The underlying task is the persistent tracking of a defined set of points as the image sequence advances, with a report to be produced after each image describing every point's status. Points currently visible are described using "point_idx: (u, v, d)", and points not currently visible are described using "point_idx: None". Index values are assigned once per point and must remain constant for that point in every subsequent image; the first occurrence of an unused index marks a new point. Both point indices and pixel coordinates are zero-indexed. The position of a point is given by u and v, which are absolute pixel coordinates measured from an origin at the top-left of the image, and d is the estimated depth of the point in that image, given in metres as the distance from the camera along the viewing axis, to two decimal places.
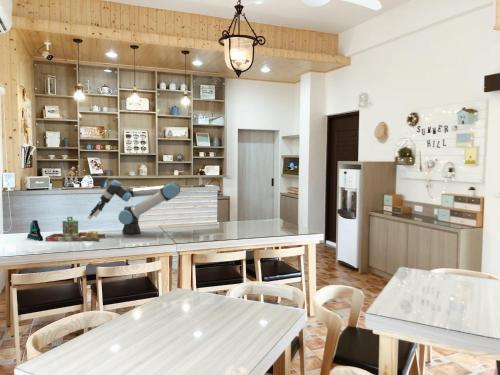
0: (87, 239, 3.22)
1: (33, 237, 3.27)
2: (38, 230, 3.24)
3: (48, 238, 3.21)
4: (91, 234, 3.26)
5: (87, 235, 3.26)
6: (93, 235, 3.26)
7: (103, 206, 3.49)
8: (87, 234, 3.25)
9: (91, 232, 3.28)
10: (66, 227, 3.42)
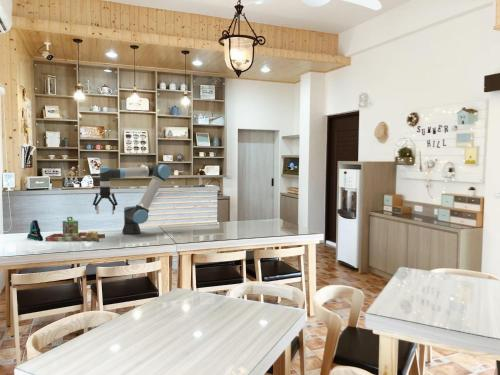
0: (87, 239, 3.22)
1: (33, 237, 3.27)
2: (38, 230, 3.24)
3: (48, 238, 3.21)
4: (91, 234, 3.26)
5: (87, 235, 3.26)
6: (93, 235, 3.26)
7: (96, 199, 3.28)
8: (87, 234, 3.25)
9: (91, 232, 3.28)
10: (66, 227, 3.42)
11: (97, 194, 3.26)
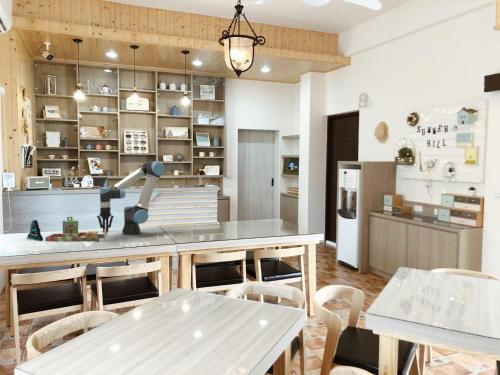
0: (87, 239, 3.22)
1: (33, 237, 3.27)
2: (38, 230, 3.24)
3: (48, 238, 3.21)
4: (91, 234, 3.26)
5: (87, 235, 3.26)
6: (93, 235, 3.26)
7: (101, 221, 3.30)
8: (87, 234, 3.25)
9: (91, 232, 3.28)
10: (66, 227, 3.42)
11: (98, 216, 3.27)
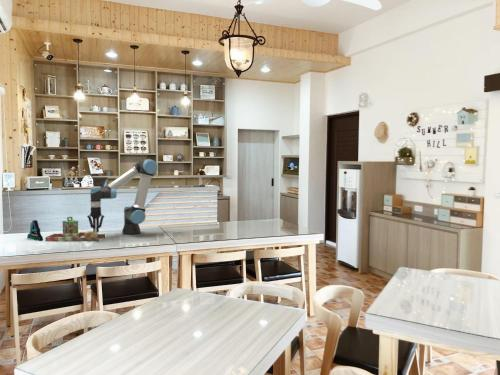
0: (87, 239, 3.22)
1: (33, 237, 3.27)
2: (38, 230, 3.24)
3: (48, 238, 3.21)
4: (90, 234, 3.25)
5: (86, 235, 3.25)
6: (92, 235, 3.26)
7: None
8: (86, 234, 3.25)
9: (90, 232, 3.28)
10: (66, 227, 3.42)
11: (89, 216, 3.27)
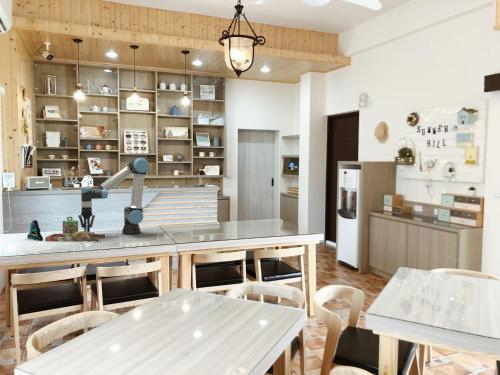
0: (87, 239, 3.22)
1: (33, 237, 3.27)
2: (38, 230, 3.24)
3: (48, 238, 3.21)
4: (81, 234, 3.25)
5: (77, 235, 3.25)
6: (83, 235, 3.25)
7: None
8: (77, 234, 3.25)
9: (81, 232, 3.28)
10: (66, 227, 3.42)
11: (80, 216, 3.27)
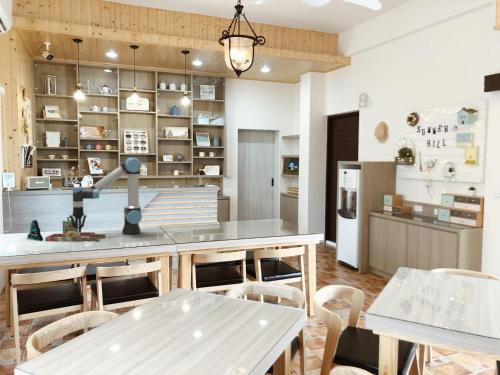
0: (87, 239, 3.22)
1: (33, 237, 3.27)
2: (38, 230, 3.24)
3: (48, 238, 3.21)
4: (72, 234, 3.25)
5: (68, 235, 3.25)
6: (74, 235, 3.25)
7: (74, 221, 3.29)
8: (68, 234, 3.25)
9: (73, 232, 3.28)
10: (66, 227, 3.42)
11: (71, 216, 3.27)
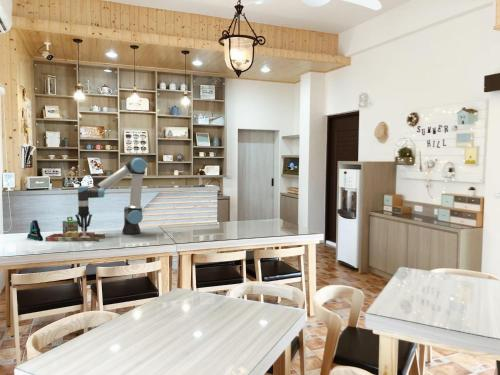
0: (87, 239, 3.22)
1: (33, 237, 3.27)
2: (38, 230, 3.24)
3: (48, 238, 3.21)
4: (71, 234, 3.25)
5: (67, 235, 3.25)
6: (73, 235, 3.25)
7: None
8: (67, 234, 3.25)
9: (71, 232, 3.28)
10: (66, 227, 3.42)
11: (77, 215, 3.27)
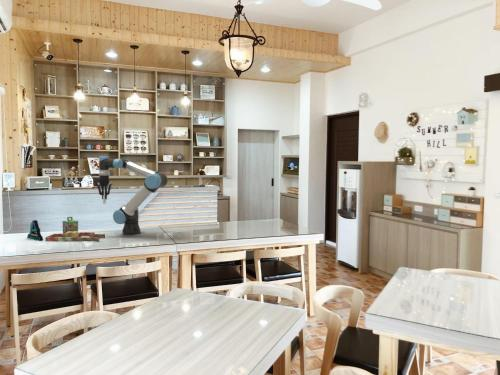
0: (87, 239, 3.22)
1: (33, 237, 3.27)
2: (38, 230, 3.24)
3: (48, 238, 3.21)
4: (71, 234, 3.25)
5: (67, 235, 3.25)
6: (73, 235, 3.25)
7: (100, 189, 3.47)
8: (67, 234, 3.25)
9: (71, 232, 3.28)
10: (66, 227, 3.42)
11: (97, 184, 3.45)
